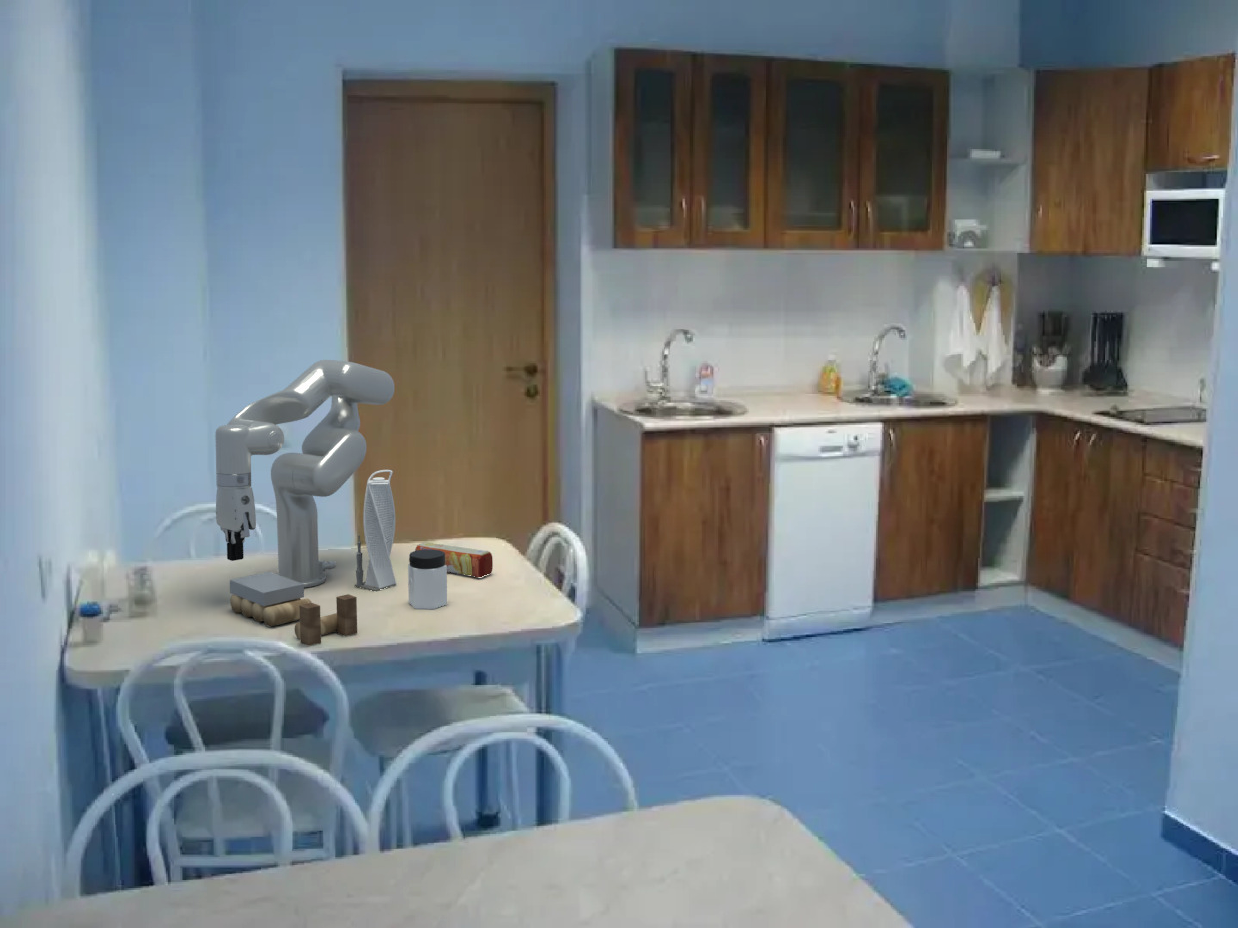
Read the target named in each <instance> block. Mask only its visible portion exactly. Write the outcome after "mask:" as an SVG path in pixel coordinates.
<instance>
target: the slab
mask: <svg viewBox="0 0 1238 928" xmlns="http://www.w3.org/2000/svg"><path fill="white" fill-rule="evenodd" d="M277 574H278V573H274V572H272V571H266V572H262V573H256V574H253V575H247V576H242V577H238V578H232V579H229V593H230V594H232V595H237V596H239V597H242V598H244V599H247V600H249V601H252V602H254V603H257V604H259V605H262V606H268V605H272V604H276V603H281V602H285V601H289V600H294V599H298V598H300V599H301V598H302V599H304V597H305V588H304V584H302V583H299V582H297V581H294V580H291V579H288V578H285V577H283V576H280V575H277Z"/></svg>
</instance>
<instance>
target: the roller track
mask: <svg viewBox="0 0 1238 928" xmlns="http://www.w3.org/2000/svg"><path fill="white" fill-rule="evenodd" d="M229 602H230V607H231V609H232V612H234V613H236V614H238V613H239V614H240V613H242V615H243V616H244V617H245V618H246V619H247V618H253V619H254V621H255V622H257V623H261V622H264V624H265V625H266V626H267V627H269V628H270V627H274V626H278V625H283V624H287V623H291V622H295V621H300V607H299V605H304V604H308V603H313V602H312V601H311V599H310V598H308V597H307V598H302V599H301V598H298V599H294V600H289V601H285V602H281V603H276V604H272V605H268V606H262V605H259V604H257V603H254V602H252V601H249V600H247V599H244V598H242V597H239V596H237V595H234V594H232V595H231V596H230V599H229Z"/></svg>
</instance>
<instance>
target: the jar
mask: <svg viewBox="0 0 1238 928" xmlns="http://www.w3.org/2000/svg"><path fill="white" fill-rule="evenodd" d="M408 556H409V558H408V562H409V563H408V566H407V570H408V571H407V572H408V573H407V575H408V576H407V578H408V580H407V581H408V582H407V583H408V586H407V587H408V604H409V605H410V604H411V605H410V606H411V607H412V608H413V609H415V608H416V610H417V609H419V610H420V609H421V610H435V609H439V608H441V606H442V607H443V606H444V605H445V606H447V605H448V572H447V566H446V565H445V553H444V552H443V551H440V550H431V549H426V550H417V551H415V550H414V551H411V552H410V553H409V555H408ZM446 604H447V605H446ZM438 607H439V608H438Z"/></svg>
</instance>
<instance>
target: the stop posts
mask: <svg viewBox="0 0 1238 928" xmlns="http://www.w3.org/2000/svg"><path fill="white" fill-rule="evenodd" d="M335 599H336V600H335V601H336V613H337V631H336V634H338V635H340V636H344V637H348V636H352V635H356V634H358V610H357V609H358V606H357V605H358V604H357V603H358V602H357V601H358V600H357V596H355V595H352V594H350V593H347V594H343V595H339V596H336V598H335ZM299 607H300V620H299V622H300V639H299V640H300V643H301V644H303V645H305V646H308V647H310V646H314V645H318V644H321V643H322V635H321V619H320V617H321V605H319V604H317V603H314V602H312V603H308V604H304V605H299Z"/></svg>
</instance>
